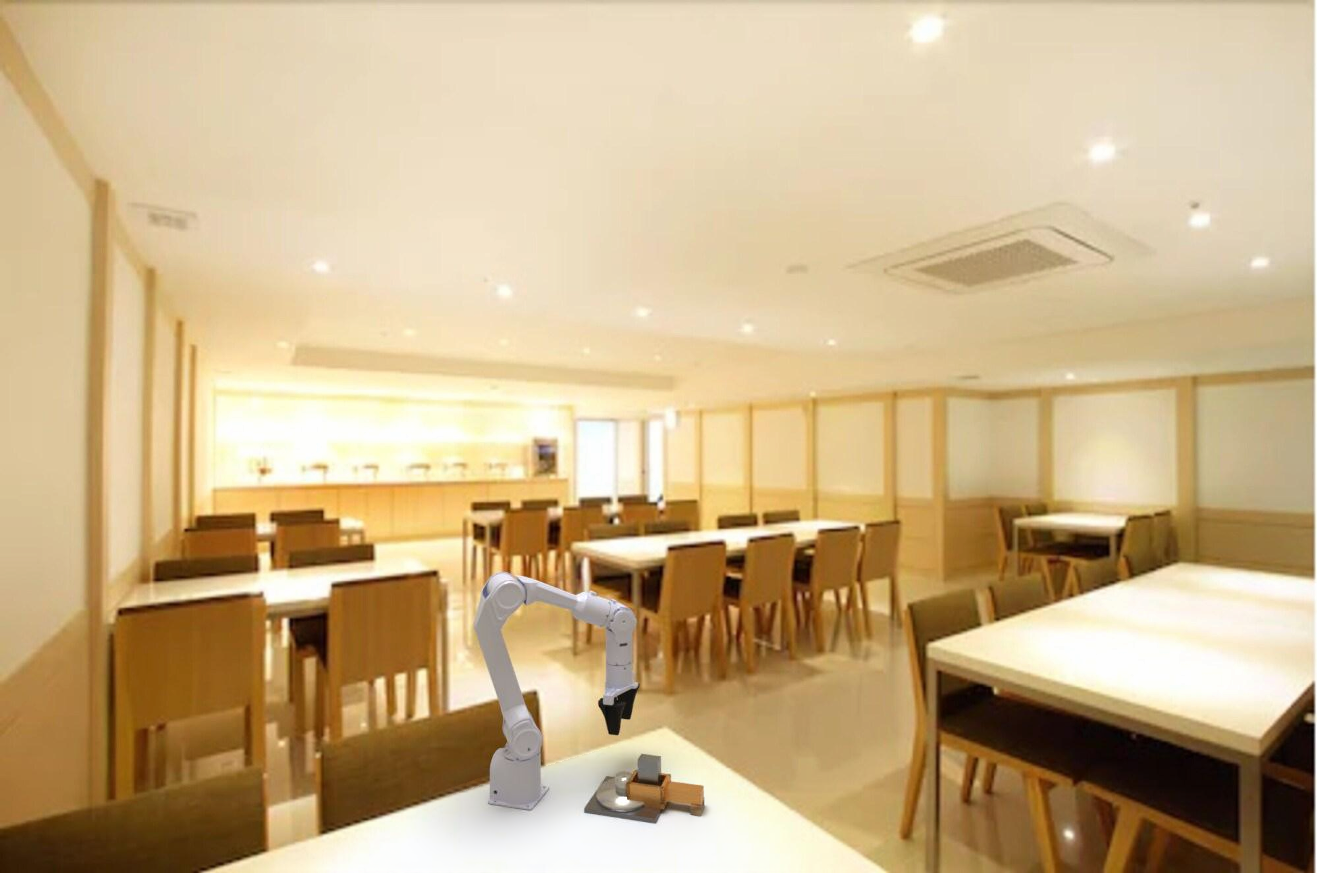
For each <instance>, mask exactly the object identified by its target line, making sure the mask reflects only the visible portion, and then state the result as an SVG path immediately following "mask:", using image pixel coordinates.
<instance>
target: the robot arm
mask: <svg viewBox="0 0 1317 873" xmlns="http://www.w3.org/2000/svg"><path fill="white" fill-rule="evenodd" d="M515 577H516V578H517V579H516V578H515ZM479 596H480V598H479V601H478V606H477V609H476V613H475V617H474V621H473V629H474V633H475V635H476V638H477V641H478V644H479V646H480V649H481V653H482V656H483V658H484V663H485V664H486V665H485V666H486V668H487V671H488V674H489V677H490V679H491V683H492V686H493V688H494V689H493V690H494V691H495V694H496V698H497V701H498V704H499V706H500V711H501V714H502V720H503V722H502V728H501V729H502V732H503V736H504V737H505V738H506V740H507V741H506V743H505V745H504V747H500V748H498V749H497V750H495V752H494V753H493V755H492V759H491V760H490V761H491V762H490V765H489V799H488V801H487V805H488V804H489V805H494V806H499V807H507V808H513V809H519V810H525V811H526V810H527V811H532V810H533V809H534V808H535V807H536V805H537V804H538V803H539V802H540V801H541V800H542V798H543V797H544V796H545V795H546V793H547V792H548V791H550V790H549V789H550V787H549V786H547V785H542V783H541V781H542V778H541V777H542V776H541V775H542V769H541V768H542V764H541V750H542V749H541V748H542V746H543V740H544V739H543V734H542V732H541V730H540V729H539V727H538V726H537V725H536V723H535V720H534V718H533V715H532V713H530V711H529V710H528V707H527V705H526V702H525V699H524V696H523V693H522V689H521V687H520V684H519V681H518V678H517V675H516V672H515V670H514V666H513V663H512V660H511V656H510V654H509V651H508V648H507V645H506V642H505V638H504V635H503V633H502V629H503V627H504V626H505V624H506V622H507V621H508V618H509V617H511V616H512V615H513V614H514V613H516V611H517V610H519V608H521V606H522V605H525V607H526V606H529V605H532V604H534V603H535V602H541V603H545V604H548V605H551V606H555V607H559V608H561V609H562V608H563V609H565V610H569V611H571V612H572V613H571V614H572V616H573V618H574V619H576V620H578V621H581V622H585V623H588V624H590V625H593V626H597V627H600V628H605V683H604V693H603V694H602V697H601V698H599V700H598V701H597V706H598V708H599V709H600V711H601V713H602V715H603V717H604V718H603V719H604V721H605V725H606V729H607V732H608V735H609V736H619V734H620V732H621V727H622V725H621V724H622V720H627V721H628V720H631V718H632V714H633V708H634V703H635V699H636V696H637V693H638V691H639V689H640V686H641V684H640V683H639V682H638V681H635V671H634V665H633V664H634V663H633V662H634V660H633V658H634V656H633V655H634V652H633V632H634V630H635V628H636V627H637V623H638V620H637V619H636V616H635V613H634V612H633V610H632V609H631V608H629V607H627V606H626V605H624V604H623V603H622V602H619V601H618V600H616V599H614V598H610V599H607V598H604V597H601V596H599V595H598V593H597V592H596V591H593V590H589V591H582V592H580V593H578V594H573V593H571V592H568V591H567V590H566V591H565V590H563V589H561V588H558V587H555V586H552V585H551V584H548V583H544V582H542V581H540V580H537V579H534V578H530V577H529V576H528V577H527V576H523V575H519V574H514V576H513V575H512V574H511V573H509V572H506V571H499V572H495V573H494V574H491V576H490V577H489V578H488V579H487V580H486V582H485V584H484V586H483V587H482V588H481V590H480V595H479Z"/></svg>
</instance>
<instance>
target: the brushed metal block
mask: <svg viewBox="0 0 1317 873" xmlns="http://www.w3.org/2000/svg"><path fill="white" fill-rule="evenodd" d="M637 770H638V783H641V784H648V785H655V786H661V773H662V756H661V755H656V754H655V755H654V754H648V753H647V754H646V753H640V755H639V756H638V758H637Z"/></svg>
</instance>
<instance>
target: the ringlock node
mask: <svg viewBox="0 0 1317 873" xmlns="http://www.w3.org/2000/svg"><path fill="white" fill-rule="evenodd" d="M704 788H705V786H704V785H702V784H694V783H688V782H687V783H686V782H679V781H673V780H672V774H671V773H664V772H661V786H655V785H648V784H641V783H638V769H634V770H633V772H631V771H628V770H627V771H626V770H625V771H619V772H618V773H616V774H615V776H609V775H606V776H605V777H604V778H603V781H602V782H601V783H600V785H599V786H598V788H597V789H596V790H595V792H594V793H593V795H592V796H591V798H590V799H589V801H588V802H587V803H586V805H585V806H584V808H583V809H584V810H583V812H584V813H587V814H593V815H598V816H599V815H600V816H605V817H606V816H607V817H612V818H619V819H627V820H630V821H631V820H632V821H638V822H644V823H645V822H646V823H652V824H656V823H657V821H658V820H659V817H660V815H661V813H662V811H663V810H665V808H666V805H667V804H668V802H670V803H677V804H686V805H690V806H689V815H691V816H696V817H697V816H698V817H701V816H702V814H703V810H704V808H705V796H704V794H705V789H704Z"/></svg>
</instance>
